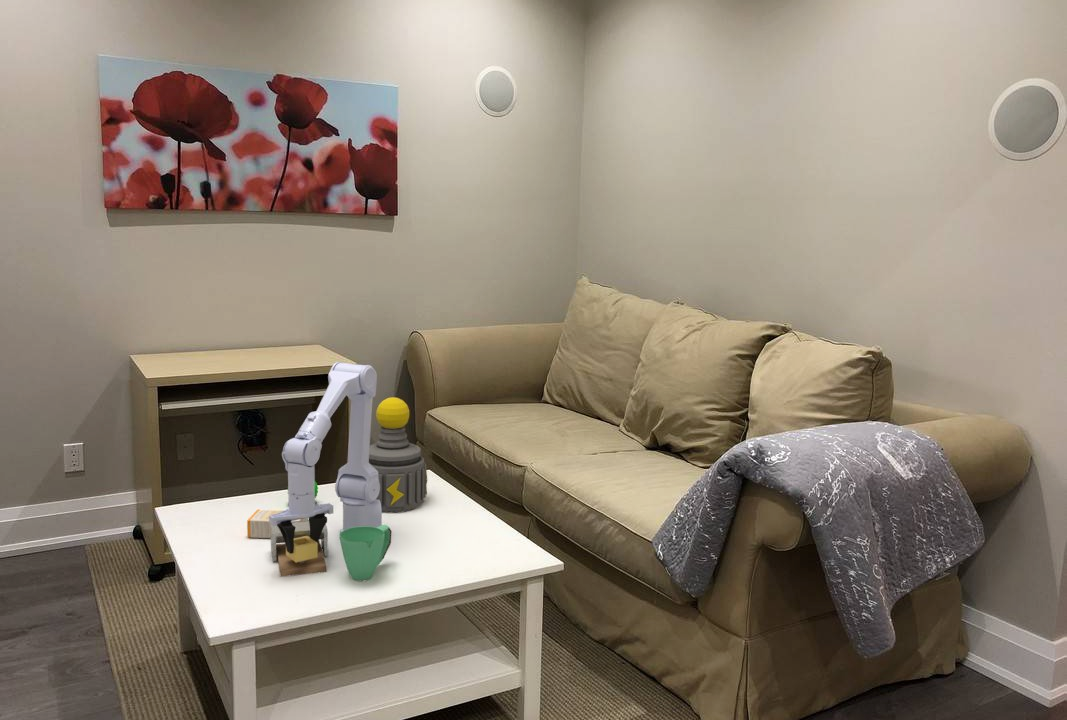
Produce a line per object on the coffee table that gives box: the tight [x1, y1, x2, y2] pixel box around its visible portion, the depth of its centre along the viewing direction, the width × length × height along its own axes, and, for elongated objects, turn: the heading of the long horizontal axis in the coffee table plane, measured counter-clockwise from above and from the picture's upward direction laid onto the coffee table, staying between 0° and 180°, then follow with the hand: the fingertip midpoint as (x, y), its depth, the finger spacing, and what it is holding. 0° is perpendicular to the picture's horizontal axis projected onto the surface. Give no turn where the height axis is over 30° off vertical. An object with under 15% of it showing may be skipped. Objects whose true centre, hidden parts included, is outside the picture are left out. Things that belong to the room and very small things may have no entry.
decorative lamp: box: [369, 396, 428, 513], centre depth 246 cm, size 19×19×30 cm
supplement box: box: [246, 509, 309, 539], centre depth 222 cm, size 8×5×13 cm
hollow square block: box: [286, 536, 318, 562], centre depth 200 cm, size 5×5×4 cm
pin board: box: [276, 541, 327, 577], centre depth 205 cm, size 10×16×6 cm, turn 19°
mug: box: [338, 524, 393, 582], centre depth 199 cm, size 15×10×10 cm
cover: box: [270, 519, 329, 562], centre depth 209 cm, size 12×7×7 cm, turn 109°
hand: (302, 549), depth 200 cm, fingers closed on hollow square block, 5 cm apart
